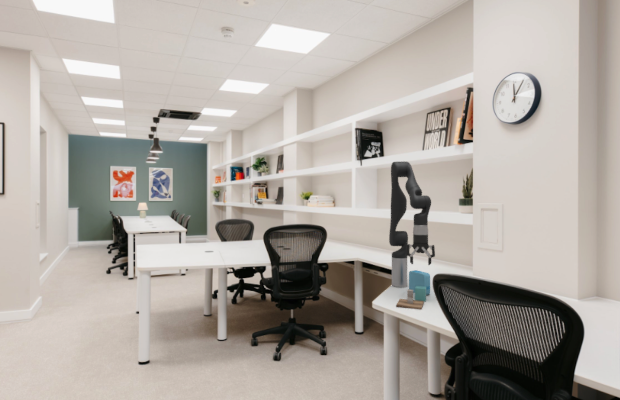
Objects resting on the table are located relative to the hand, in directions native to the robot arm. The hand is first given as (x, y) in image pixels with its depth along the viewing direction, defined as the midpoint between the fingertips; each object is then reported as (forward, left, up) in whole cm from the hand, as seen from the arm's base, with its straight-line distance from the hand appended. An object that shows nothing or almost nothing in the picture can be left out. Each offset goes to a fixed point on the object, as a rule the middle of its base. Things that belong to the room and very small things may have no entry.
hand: (420, 264), depth 198 cm
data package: (-14, -2, -19) cm, 24 cm away
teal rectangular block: (0, 0, -19) cm, 19 cm away
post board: (+11, -4, -19) cm, 22 cm away
